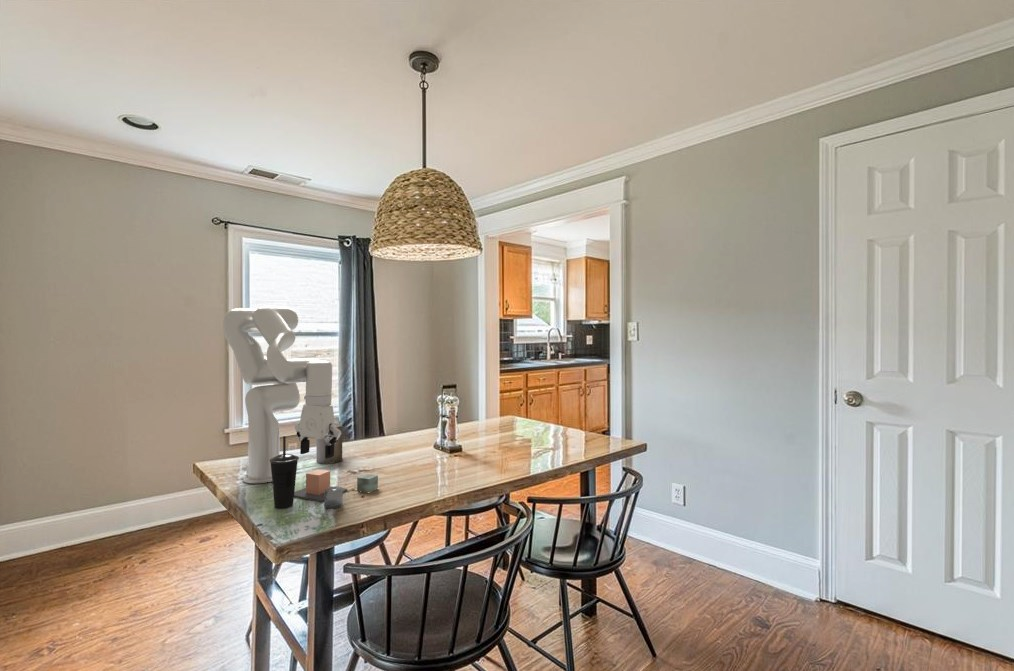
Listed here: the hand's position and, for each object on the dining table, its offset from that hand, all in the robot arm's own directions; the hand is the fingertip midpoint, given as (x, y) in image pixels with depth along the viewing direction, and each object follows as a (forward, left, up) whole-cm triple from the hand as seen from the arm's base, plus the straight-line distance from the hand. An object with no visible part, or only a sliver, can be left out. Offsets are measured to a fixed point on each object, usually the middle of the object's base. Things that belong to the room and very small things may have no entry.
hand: (317, 455), depth 150 cm
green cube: (+13, +8, -12) cm, 19 cm away
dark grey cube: (+13, -7, -12) cm, 19 cm away
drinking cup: (-1, -12, -12) cm, 17 cm away
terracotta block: (+1, 0, -11) cm, 11 cm away
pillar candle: (-23, +32, -12) cm, 41 cm away
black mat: (+1, 0, -12) cm, 12 cm away
